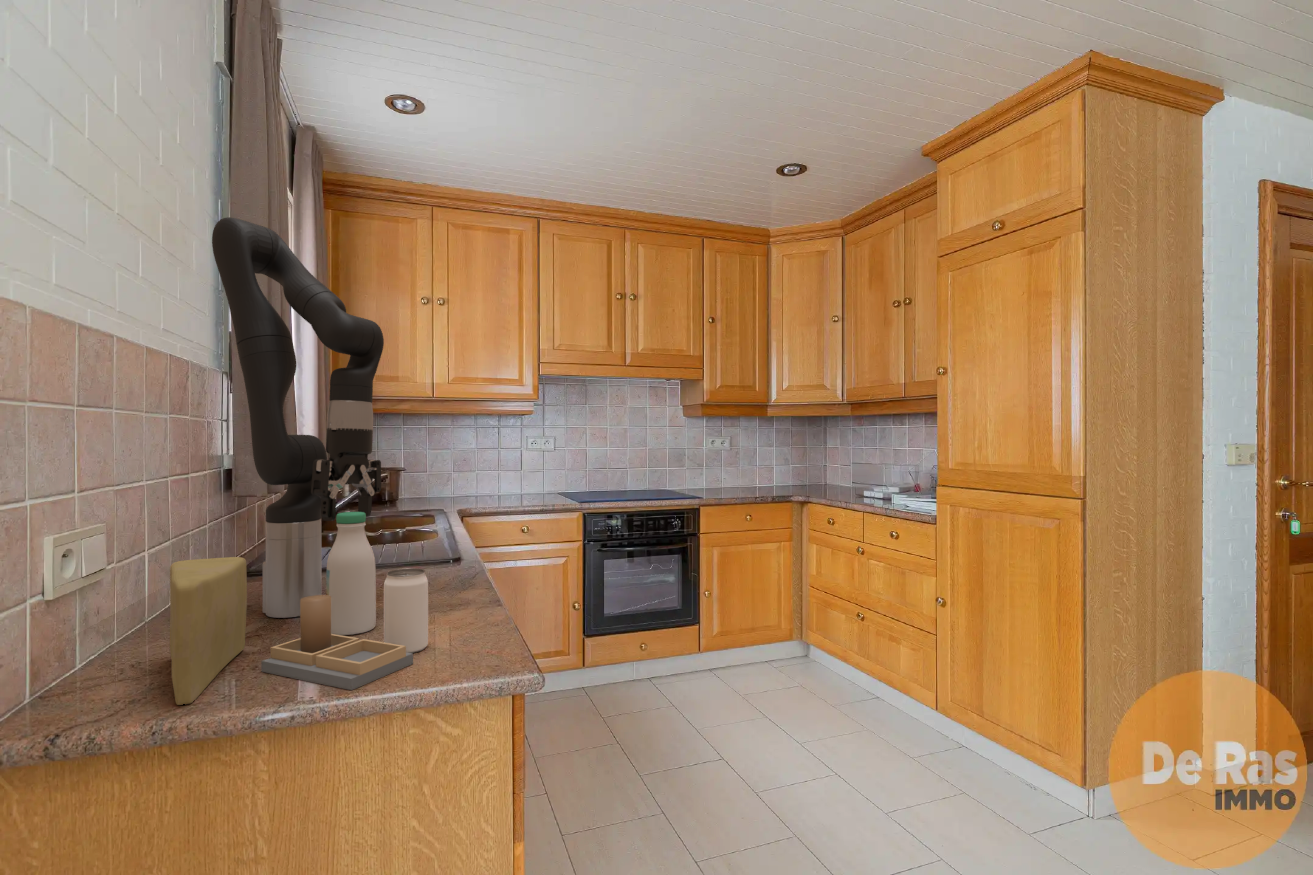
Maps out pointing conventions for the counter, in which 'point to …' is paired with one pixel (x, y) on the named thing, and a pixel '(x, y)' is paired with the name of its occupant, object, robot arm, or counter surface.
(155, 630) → the counter surface
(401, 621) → the can
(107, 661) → the counter surface
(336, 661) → the socket board
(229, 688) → the counter surface
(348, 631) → the milk bottle
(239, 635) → the cheese
